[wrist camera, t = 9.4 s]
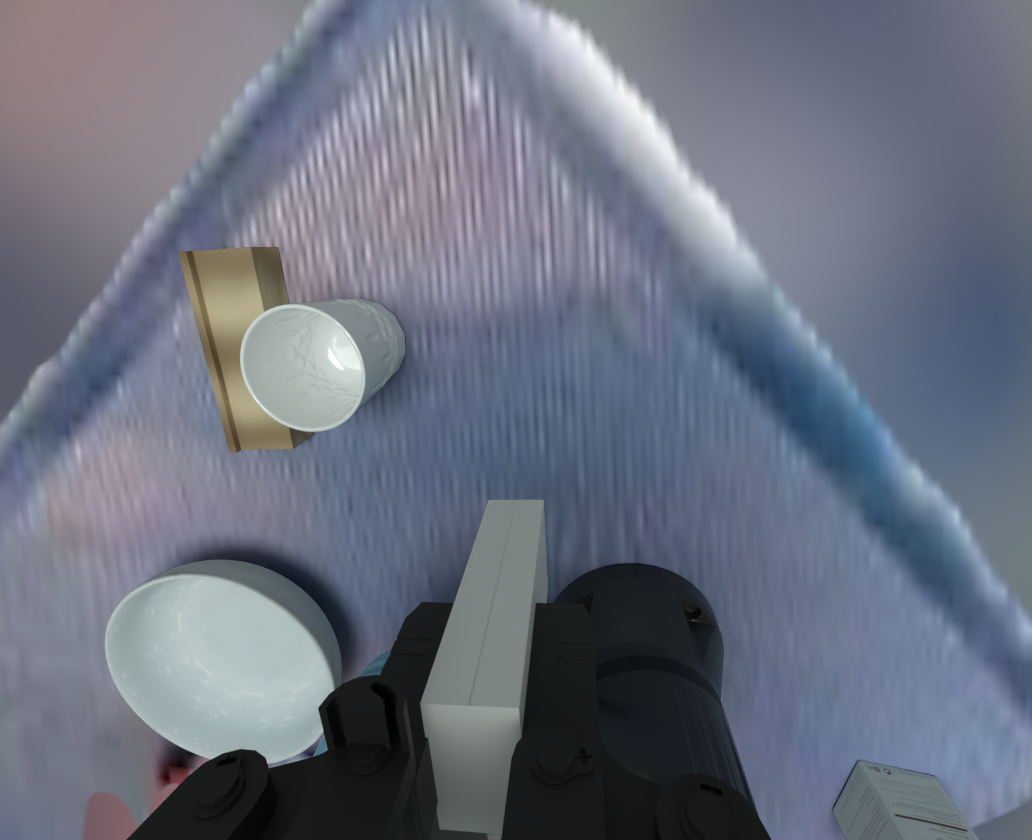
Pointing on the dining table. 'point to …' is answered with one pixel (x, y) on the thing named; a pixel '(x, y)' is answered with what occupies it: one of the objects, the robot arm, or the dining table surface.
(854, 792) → the supplement box
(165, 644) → the serving bowl
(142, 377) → the dining table surface
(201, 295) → the brass metal channel
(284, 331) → the white cup
